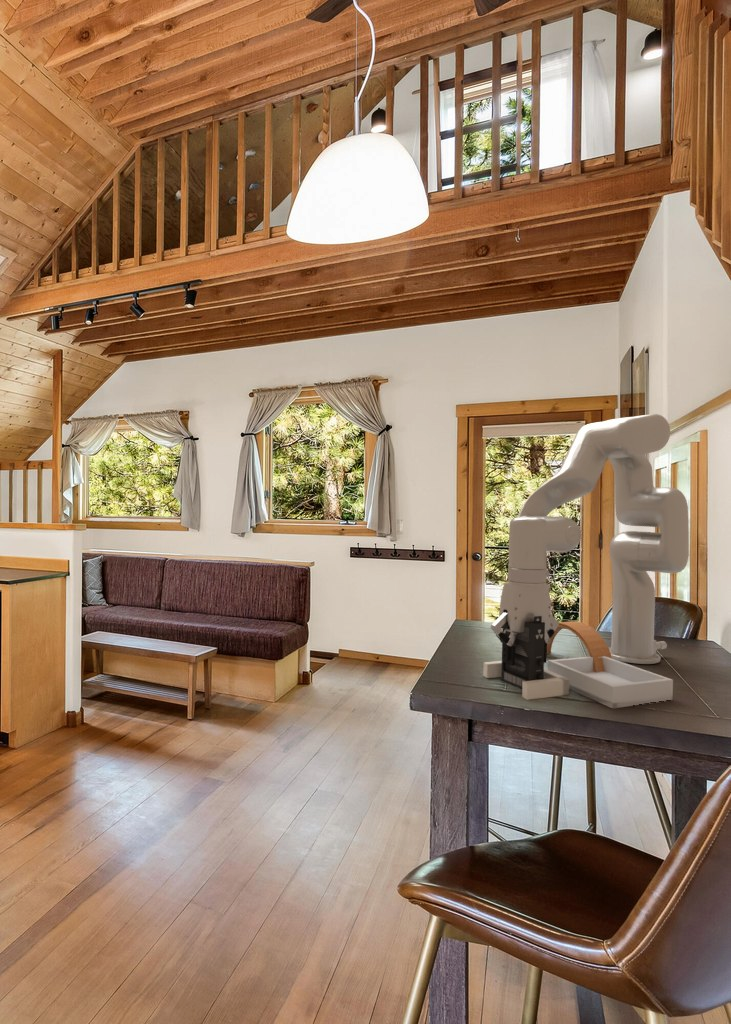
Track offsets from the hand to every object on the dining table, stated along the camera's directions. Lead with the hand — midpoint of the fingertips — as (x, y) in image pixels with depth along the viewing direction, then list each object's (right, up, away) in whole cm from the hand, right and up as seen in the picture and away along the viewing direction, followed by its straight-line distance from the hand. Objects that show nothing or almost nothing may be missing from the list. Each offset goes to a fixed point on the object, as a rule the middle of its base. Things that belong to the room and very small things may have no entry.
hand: (524, 661), depth 111 cm
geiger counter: (0, -5, 0) cm, 5 cm away
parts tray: (+16, -5, -1) cm, 17 cm away
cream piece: (0, -5, 0) cm, 5 cm away
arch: (+16, -6, +17) cm, 24 cm away
